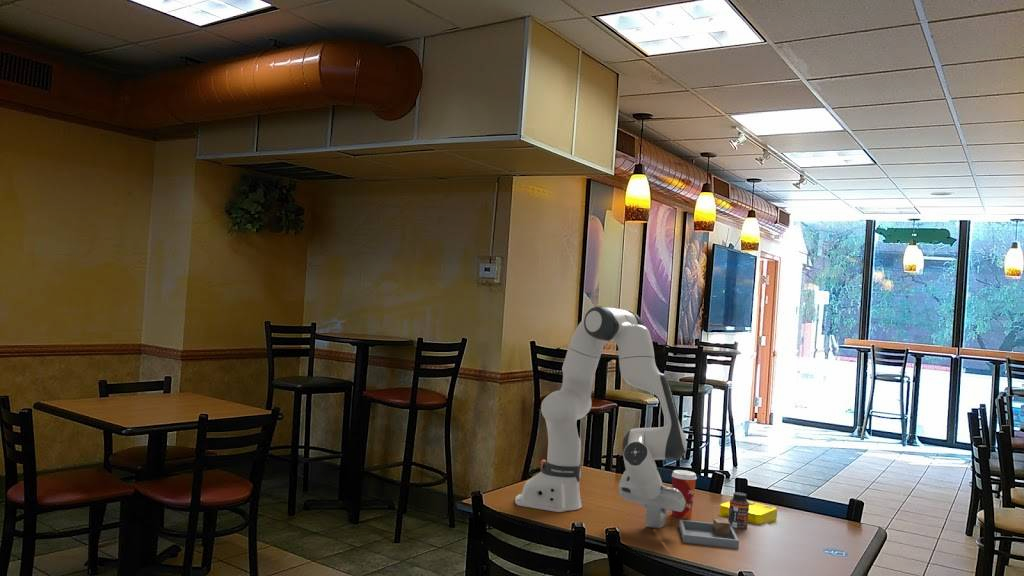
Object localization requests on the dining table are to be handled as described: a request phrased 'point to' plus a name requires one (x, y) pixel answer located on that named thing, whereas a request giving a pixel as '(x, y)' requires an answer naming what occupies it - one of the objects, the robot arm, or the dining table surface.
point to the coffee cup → (684, 490)
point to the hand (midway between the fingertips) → (657, 509)
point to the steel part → (655, 517)
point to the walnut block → (721, 527)
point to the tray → (706, 534)
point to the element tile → (754, 512)
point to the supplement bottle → (738, 511)
